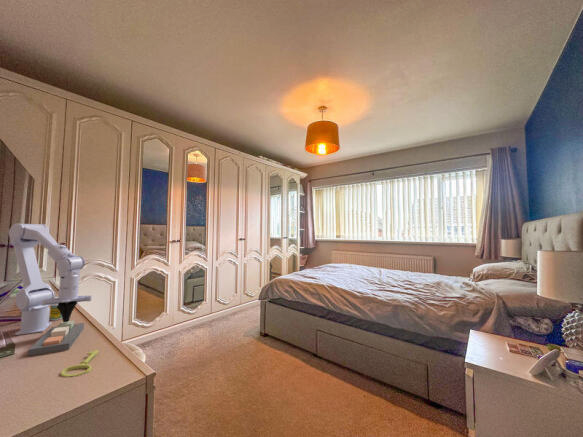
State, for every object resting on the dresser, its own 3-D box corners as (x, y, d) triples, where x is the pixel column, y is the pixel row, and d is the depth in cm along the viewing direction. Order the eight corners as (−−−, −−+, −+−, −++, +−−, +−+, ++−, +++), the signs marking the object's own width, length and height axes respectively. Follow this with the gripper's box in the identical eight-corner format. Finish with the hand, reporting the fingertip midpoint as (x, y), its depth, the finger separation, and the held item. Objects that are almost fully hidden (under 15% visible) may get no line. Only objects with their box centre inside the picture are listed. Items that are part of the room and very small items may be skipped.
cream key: (54, 334, 89) (55, 328, 89) (68, 332, 91) (69, 326, 91) (50, 338, 85) (51, 332, 86) (65, 336, 87) (65, 330, 88)
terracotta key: (47, 344, 83) (48, 337, 83) (62, 342, 85) (63, 335, 85) (42, 349, 80) (43, 342, 80) (58, 347, 82) (59, 340, 82)
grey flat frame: (51, 332, 94) (51, 326, 94) (83, 328, 99) (84, 322, 99) (27, 356, 77) (28, 349, 77) (68, 349, 82) (69, 343, 82)
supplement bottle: (66, 315, 112) (68, 295, 112) (63, 319, 107) (65, 298, 108) (51, 317, 109) (52, 296, 109) (47, 321, 104) (49, 299, 105)
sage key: (60, 328, 94) (61, 322, 95) (73, 326, 96) (74, 320, 97) (56, 331, 91) (57, 325, 91) (70, 330, 93) (71, 323, 93)
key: (98, 355, 80) (99, 348, 80) (89, 375, 69) (90, 367, 69) (70, 360, 76) (71, 353, 77) (56, 382, 66) (57, 374, 66)
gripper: (39, 291, 88) (36, 328, 87) (90, 287, 95) (87, 321, 94) (47, 286, 94) (44, 321, 93) (93, 283, 101) (91, 315, 100)
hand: (66, 321), depth 94 cm, fingers closed
